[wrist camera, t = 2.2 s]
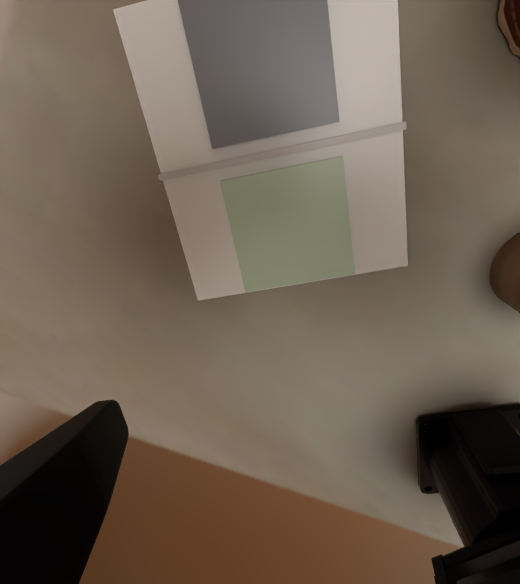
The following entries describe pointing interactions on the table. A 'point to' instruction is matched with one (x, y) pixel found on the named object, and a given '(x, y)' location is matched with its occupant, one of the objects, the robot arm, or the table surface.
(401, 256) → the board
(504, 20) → the coffee cup
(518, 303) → the brown tapered cylinder
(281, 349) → the table surface
